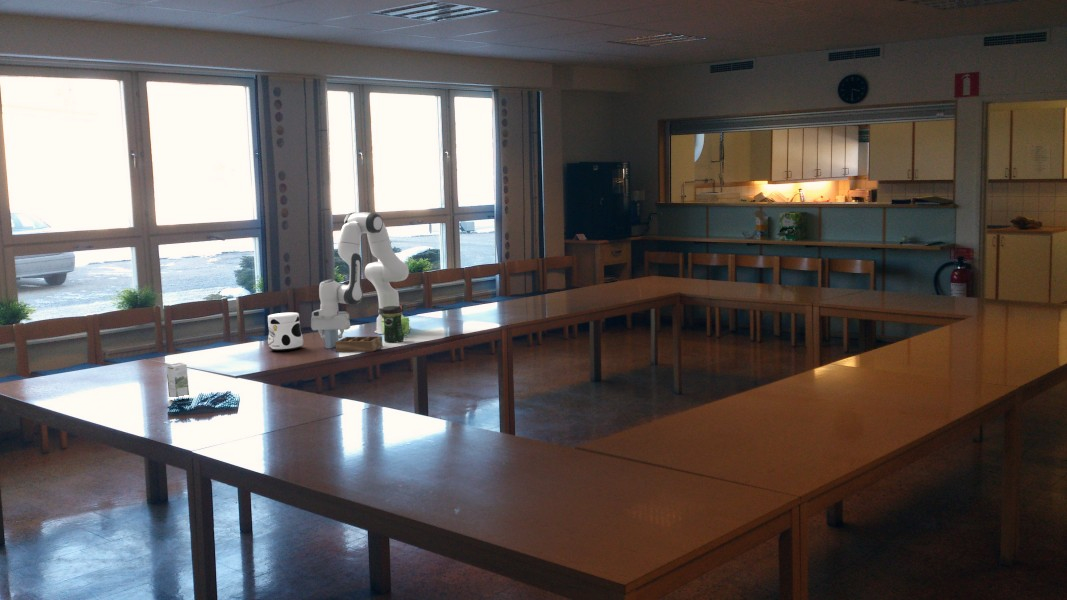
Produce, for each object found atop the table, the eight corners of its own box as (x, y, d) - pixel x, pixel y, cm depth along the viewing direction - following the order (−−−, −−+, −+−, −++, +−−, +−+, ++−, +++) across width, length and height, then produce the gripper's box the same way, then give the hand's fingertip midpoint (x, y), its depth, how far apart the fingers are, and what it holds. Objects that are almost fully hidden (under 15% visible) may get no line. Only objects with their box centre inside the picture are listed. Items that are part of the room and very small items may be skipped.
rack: (347, 346, 483) (346, 336, 482) (382, 346, 479) (381, 336, 478) (336, 351, 469) (335, 341, 469) (372, 351, 465) (371, 341, 465)
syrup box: (182, 397, 384) (178, 362, 382) (190, 399, 380) (186, 363, 378) (169, 400, 379) (165, 364, 377) (177, 402, 375) (173, 366, 374)
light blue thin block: (333, 344, 491) (332, 327, 490) (338, 344, 490) (337, 327, 489) (325, 348, 481) (324, 331, 480) (330, 348, 481) (329, 330, 479)
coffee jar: (406, 340, 493) (403, 305, 490) (397, 343, 486) (395, 307, 483) (390, 339, 497) (388, 304, 495) (381, 342, 490) (379, 306, 488)
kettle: (382, 339, 500) (381, 318, 498) (382, 335, 513) (380, 314, 512) (411, 337, 502) (409, 316, 501) (410, 333, 516) (408, 312, 514)
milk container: (261, 352, 480) (258, 317, 478) (285, 345, 495) (282, 311, 493) (287, 353, 472) (284, 317, 470) (310, 347, 487) (308, 312, 485)
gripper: (351, 310, 484) (353, 337, 486) (313, 311, 488) (316, 337, 490) (346, 312, 478) (348, 339, 480) (308, 313, 482) (310, 339, 484)
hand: (331, 338), depth 485 cm, fingers open, 8 cm apart
